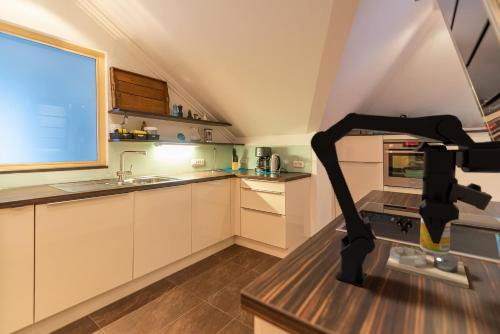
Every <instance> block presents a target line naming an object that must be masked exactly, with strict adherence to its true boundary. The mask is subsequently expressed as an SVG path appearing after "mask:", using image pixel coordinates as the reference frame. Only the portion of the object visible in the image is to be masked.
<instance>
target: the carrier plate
mask: <svg viewBox="0 0 500 334" xmlns="http://www.w3.org/2000/svg"><path fill="white" fill-rule="evenodd" d="M401 256H405V257H409V258H416V257H413V256H409V255H404V254H401ZM385 264H386V265H385V266H386V269H389V270H393V271H397V272H401V273H405V274H408V275H412V276H416V277H420V278H424V279H428V280H431V281H435V282H440V283H444V284H447V285H452V286H455V287H459V288H463V289H467V290H468V289H469V286H470V284H469V280H468V278H467V273H466V271H465V267H464V263H463V261H459V260H458V272H456V273H449V272H444V271H441V270H439V269H437V268H435V267H434V255H429V254H426V266H422V267H411V266H407V265H403V264H399V263H397V262H396V261H394V260H392V259H391V258H390V256H388V259H387V262H386V263H385Z"/></svg>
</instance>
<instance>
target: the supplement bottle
mask: <svg viewBox="0 0 500 334" xmlns="http://www.w3.org/2000/svg"><path fill="white" fill-rule="evenodd" d="M451 225H452V223H451V221H450V222H448V223H447V224H446V226H445V229H444V231H443V234H442V237H441V240H440V243H439V244H435V243H433V242H432V240H431V237H430V235H429V233H428V230H427V228H426V226H425V224H424V222H423V219H422V217H421V218H420V229H419V230H420V231H419V232H420V233H419V247H420V249H422V250H423V251H425V252H428V253H429V254H433V255H434V254H447V255H449V254H450V250H451V249H450V248H451Z"/></svg>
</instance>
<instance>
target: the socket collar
mask: <svg viewBox="0 0 500 334" xmlns="http://www.w3.org/2000/svg"><path fill="white" fill-rule="evenodd" d="M401 254H404V255H409V256H413V257H416V258H409V257H405V256H401ZM426 255H427V254H426V253H424V252H423V251H421V250H418V249H415V248H411V247H407V246H395V247H393V246H392V247H391V248H390V250H389V257H390V258H391V259H392V260H394V261H396V262H397V263H399V264H403V265H407V266H411V267H422V266H426Z"/></svg>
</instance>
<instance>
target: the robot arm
mask: <svg viewBox="0 0 500 334" xmlns="http://www.w3.org/2000/svg"><path fill="white" fill-rule="evenodd" d="M354 130H355V131H364V132H375V133H385V134H397V135H404V136H409V137H412V138H415V139H418V140H422V142H420V143H419V145H418V146H416V147H414V148H413V150H412V151H413V153H423V165H422V167H423V168H422V169H423V172H422V191H421V199H420V200H421V202H419V204H418V205H419V207H418V208H419V209H418V215H419V216H420V217H421V218H422V219H423V222H424V224H425V226H426V228H427V230H428V233H429V235H430V237H431V240H432V242H433V243H435V244H439V243H440V240H441V237H442V234H443V231H444V229H445V226H446V224H447V223H448V222H450V223H451V222H453V221H459V219H460V209H459V207H458V206H457V204H455V203H458V201H459V202H461V203H465V204H467V205H470V206H472V207H475V208H476V209H477V210H481V211H486V208H487V207H488V205H489V204H490V202H491V200H492V199H493V196H492V195H491V194H489V193H487V192H485V191H482V186H481V185H480V184H475V183H473V182H471V183H468V184H467V185H464V184H463V185H462V184H460V183H459V179H457V177H456V173H457V172H456V171H457V168H459V169H460V170H461V171H462V173H464V174H465V173H469V174H472V173H473V174H474V173H476V174H500V140H490V141H489V140H487V141H474V139H472V137H471V136H470V135H469V134H468V133H467V132H466V130H465V129H463V123H462V121H461V119H459V117H458V116H456V115H453V114H435V115H426V116H425V115H424V116H417V117H406V116H405V117H403V116H389V115H378V114H377V115H376V114H362V113H357V112H349V113H346V114H345V116H344V117H343V118H342V119H340V120H338V121H337V122H335V123H334V124H333V125H332V126H330V127H328V128H327V129H326V130H320V131H318V132H316V133H314V134H313V136H312V137H311V139H310V147H311V149H312V151H313V153H314V154H315V156H316V157H317V159H318V160H319V162H320V163H321V164H322V166H323V168H324V170H325V172H326V175H327V178H328V180H329V183H330V184H331V188H332V190H333V192H334V195H335V198H336V200H337V203H338V206H339V208H340V210H341V213H342V215H343V219H344V224H345V230H346V235H344V236H343V237H342V238H341V239H339V270H338V272H337V273H336V274H335V279H337V280H339V281H342V282H344V283H349V284H352V285H355V286H356V287H357V286H359V287H363V286H364V284H365V282H366V280H367V278H368V273H365V260H366V258H367V256H368V255H369V254H371V253H372V252H373V251H374V249H375V247H376V243H375V240H377V236H376V234H375V231H374V230H373V228H372V223H371V222H370V219H369V217H368V216H365V217H362V216H361V214H360V213H359V211H358V209H357V206H356V203H355V201H354V198H353V196H352V195H353V194H352V193H351V191H350V188H349V185H348V183H347V181H346V180H347V179H346V178H345V176H344V173H343V170H342V168H341V165H340V162H339V157H338V150H337V147H336V146H337V145H336V143H337V142H338V141H340V140H342V139H343V138H344V137H345V136H347V135H348V134H349V133H351V132H352V131H354ZM428 142H431V143H440V144H429V143H428ZM447 147H457V149H452V148H451V149H448V148H447Z"/></svg>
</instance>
